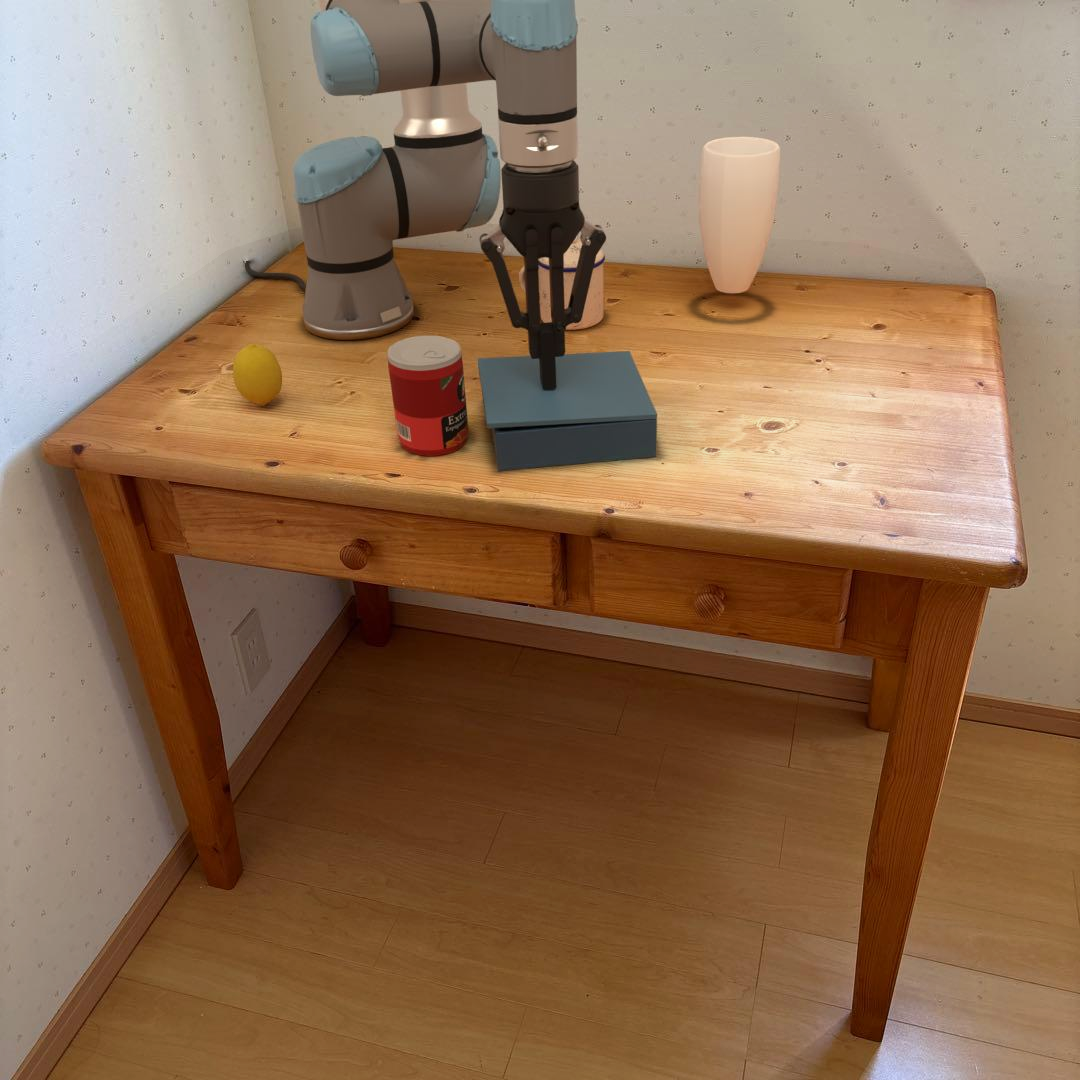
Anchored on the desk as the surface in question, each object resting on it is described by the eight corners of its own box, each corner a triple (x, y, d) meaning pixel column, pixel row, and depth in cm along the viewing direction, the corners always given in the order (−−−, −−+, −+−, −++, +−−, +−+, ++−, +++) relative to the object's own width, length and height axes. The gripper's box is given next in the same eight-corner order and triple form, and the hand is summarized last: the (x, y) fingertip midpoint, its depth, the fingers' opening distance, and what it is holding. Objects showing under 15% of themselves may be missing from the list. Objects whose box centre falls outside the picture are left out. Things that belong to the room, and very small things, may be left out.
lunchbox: (498, 471, 111) (495, 433, 108) (487, 402, 124) (484, 368, 122) (656, 456, 112) (657, 419, 110) (629, 390, 125) (629, 355, 123)
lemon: (247, 420, 123) (233, 357, 118) (235, 402, 127) (221, 340, 122) (293, 409, 125) (280, 346, 120) (280, 391, 129) (268, 330, 124)
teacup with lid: (613, 308, 146) (613, 225, 139) (594, 334, 139) (593, 248, 132) (532, 301, 150) (528, 219, 143) (509, 325, 143) (504, 241, 136)
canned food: (459, 460, 113) (450, 366, 107) (389, 455, 115) (376, 362, 108) (477, 426, 119) (469, 336, 113) (410, 421, 121) (399, 332, 115)
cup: (780, 301, 146) (795, 140, 134) (750, 327, 139) (764, 160, 127) (711, 288, 151) (720, 132, 138) (679, 313, 144) (685, 151, 131)
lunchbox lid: (487, 428, 108) (487, 423, 108) (477, 362, 121) (477, 358, 121) (657, 419, 110) (657, 414, 109) (629, 355, 123) (629, 350, 122)
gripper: (474, 177, 98) (491, 404, 111) (612, 167, 99) (612, 393, 112) (470, 156, 104) (486, 373, 117) (600, 147, 105) (601, 363, 118)
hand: (548, 383), depth 115 cm, fingers closed
